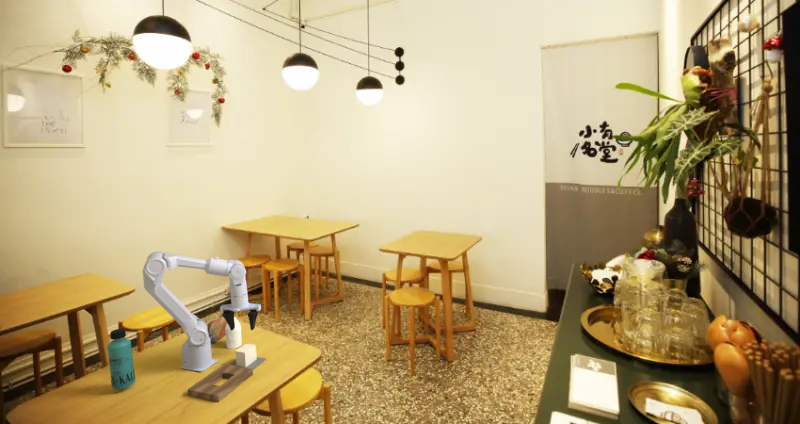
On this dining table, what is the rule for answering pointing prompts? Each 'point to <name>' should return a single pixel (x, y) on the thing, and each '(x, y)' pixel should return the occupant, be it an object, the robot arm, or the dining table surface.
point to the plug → (246, 355)
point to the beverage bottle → (120, 360)
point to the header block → (217, 393)
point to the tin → (217, 328)
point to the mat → (253, 364)
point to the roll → (233, 335)
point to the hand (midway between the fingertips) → (242, 329)
